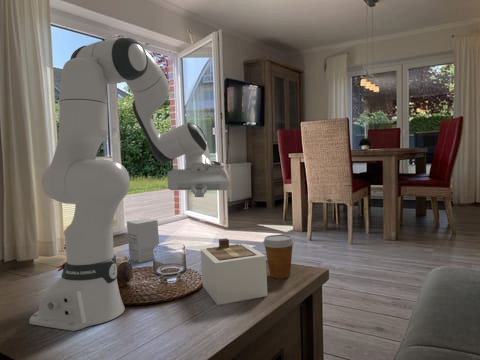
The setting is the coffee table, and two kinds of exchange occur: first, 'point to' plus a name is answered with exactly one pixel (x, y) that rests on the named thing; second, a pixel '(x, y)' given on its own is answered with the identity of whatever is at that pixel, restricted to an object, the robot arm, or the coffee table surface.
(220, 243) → the lid
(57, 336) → the coffee table surface
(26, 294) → the coffee table surface
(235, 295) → the box
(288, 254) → the disposable coffee cup
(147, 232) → the supplement box
